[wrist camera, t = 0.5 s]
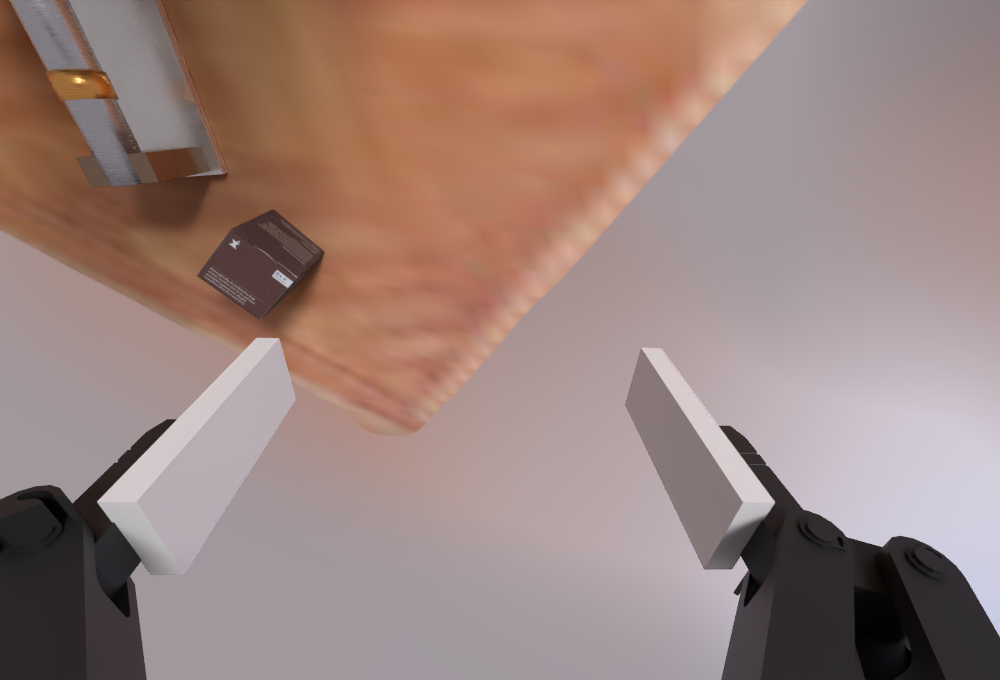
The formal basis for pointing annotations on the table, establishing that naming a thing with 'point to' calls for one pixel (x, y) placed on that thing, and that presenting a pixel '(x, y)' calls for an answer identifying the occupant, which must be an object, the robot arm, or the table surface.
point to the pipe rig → (123, 88)
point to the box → (260, 262)
